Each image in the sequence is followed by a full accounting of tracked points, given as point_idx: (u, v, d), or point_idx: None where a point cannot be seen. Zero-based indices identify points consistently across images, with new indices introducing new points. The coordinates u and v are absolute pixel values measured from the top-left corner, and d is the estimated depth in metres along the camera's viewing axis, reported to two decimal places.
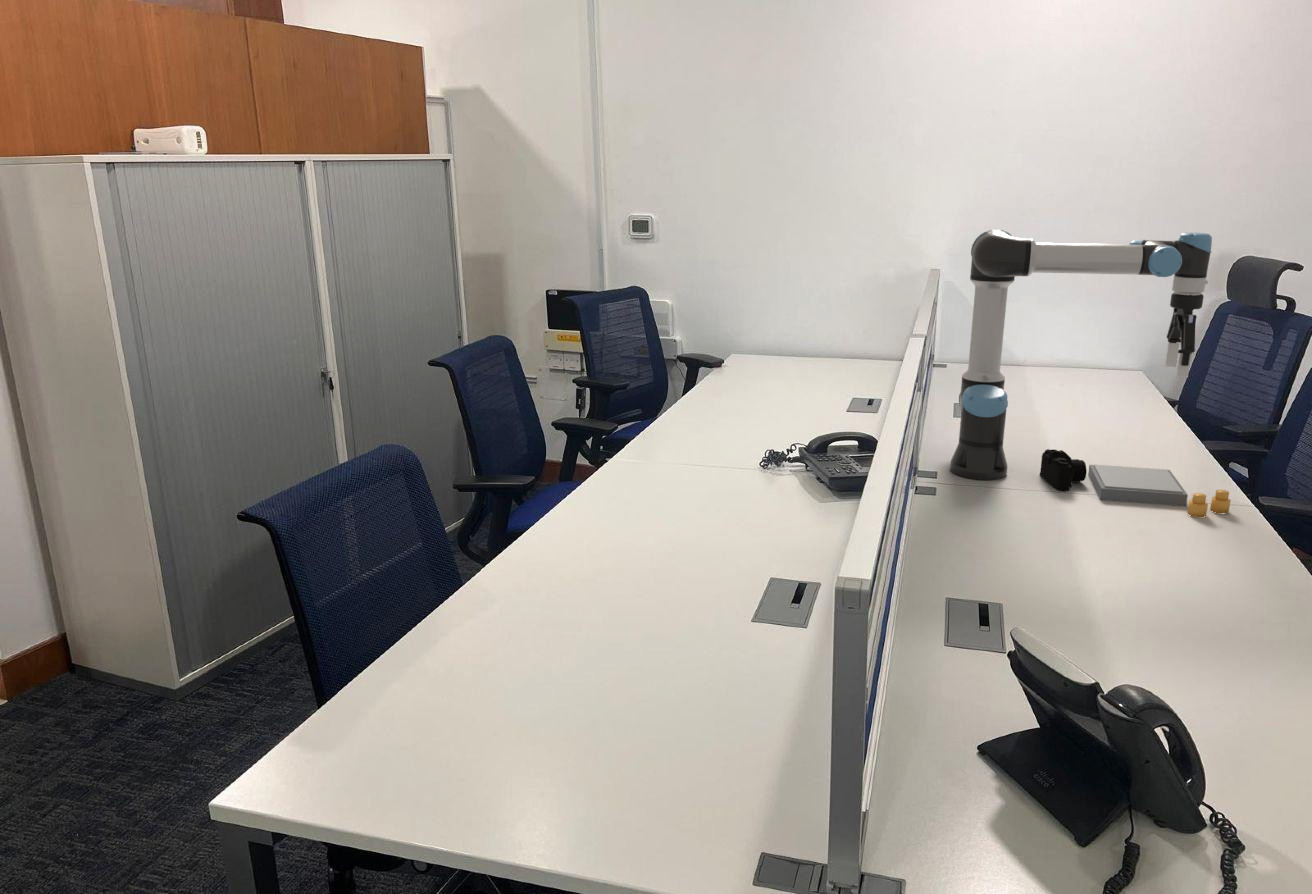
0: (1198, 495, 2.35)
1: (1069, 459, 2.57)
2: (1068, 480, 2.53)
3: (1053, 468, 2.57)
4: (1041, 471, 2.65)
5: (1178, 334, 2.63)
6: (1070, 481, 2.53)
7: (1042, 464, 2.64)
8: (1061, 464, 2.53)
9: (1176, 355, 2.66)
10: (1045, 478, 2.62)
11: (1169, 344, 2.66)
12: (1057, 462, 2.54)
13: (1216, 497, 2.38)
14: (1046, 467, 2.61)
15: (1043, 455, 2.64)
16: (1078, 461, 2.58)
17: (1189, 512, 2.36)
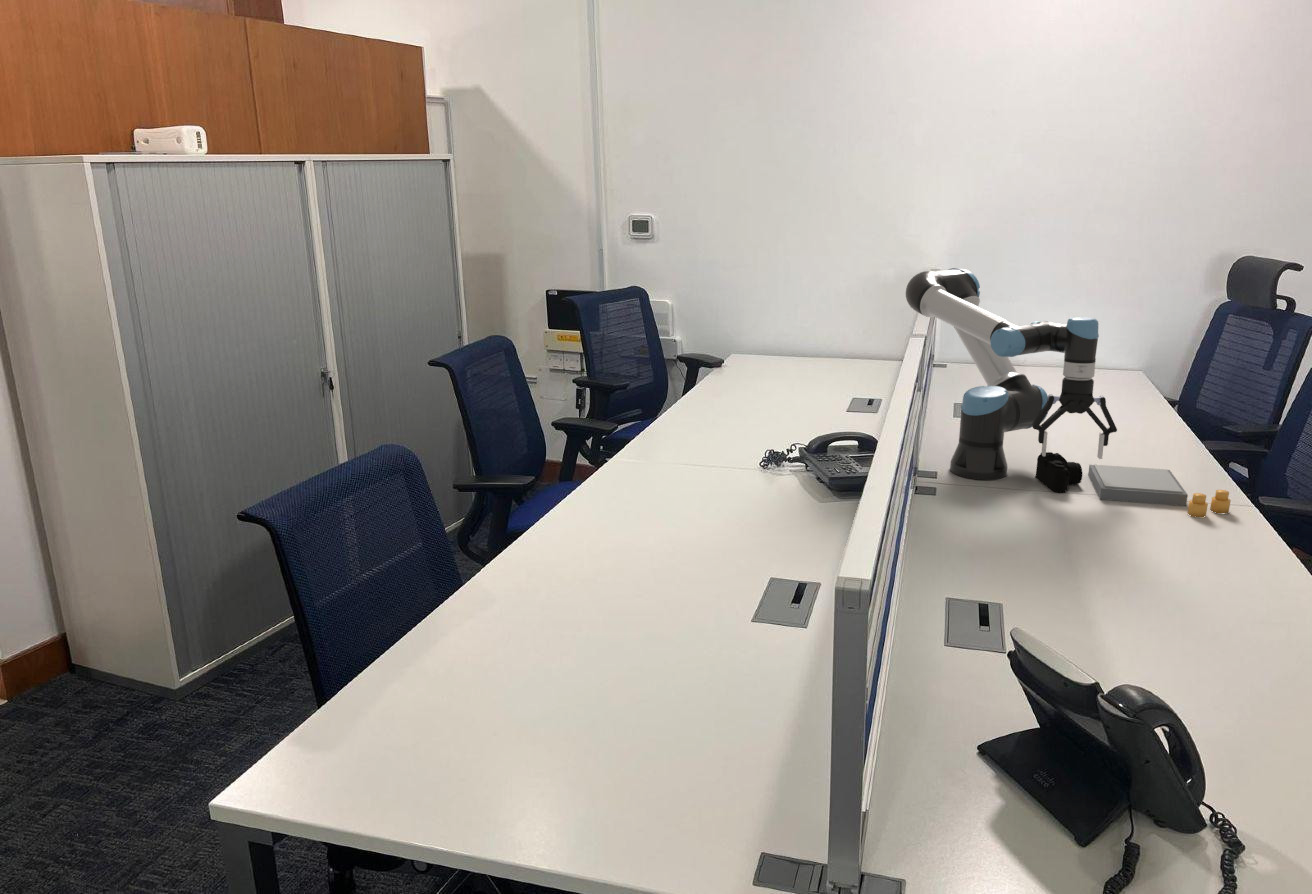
0: (1198, 495, 2.35)
1: (1065, 462, 2.56)
2: (1064, 483, 2.52)
3: (1049, 471, 2.55)
4: (1037, 474, 2.64)
5: (1096, 423, 2.53)
6: (1066, 484, 2.52)
7: (1038, 467, 2.63)
8: (1057, 467, 2.52)
9: (1099, 446, 2.53)
10: (1041, 481, 2.61)
11: None
12: (1053, 465, 2.53)
13: (1216, 497, 2.38)
14: (1042, 470, 2.60)
15: (1039, 458, 2.62)
16: (1074, 463, 2.57)
17: (1189, 512, 2.36)
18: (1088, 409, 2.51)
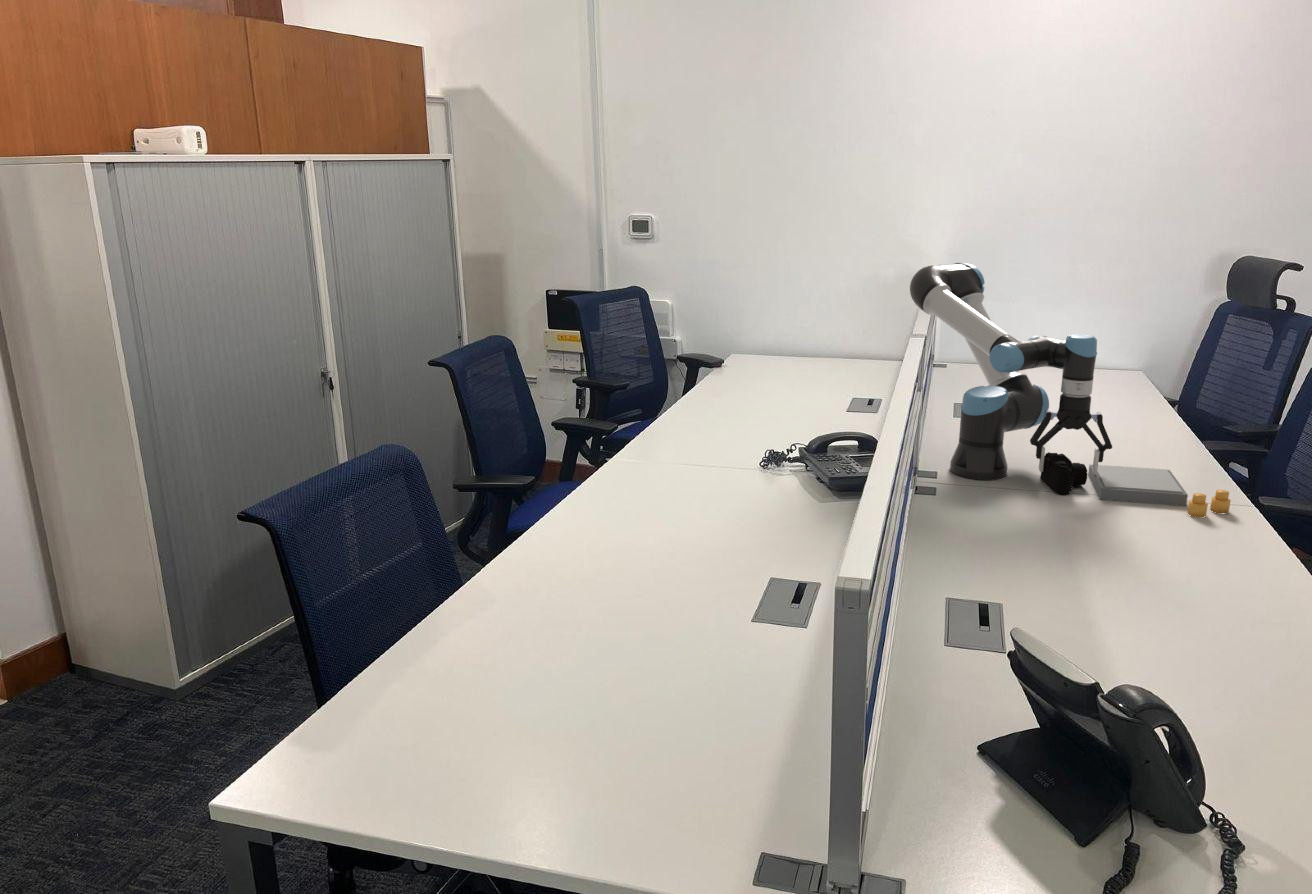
0: (1197, 495, 2.35)
1: (1069, 463, 2.54)
2: (1068, 484, 2.50)
3: (1053, 471, 2.54)
4: (1041, 474, 2.62)
5: None
6: (1070, 485, 2.50)
7: None
8: (1061, 468, 2.50)
9: (1094, 462, 2.56)
10: (1045, 482, 2.59)
11: (1095, 449, 2.57)
12: (1057, 466, 2.51)
13: (1216, 497, 2.38)
14: (1047, 471, 2.58)
15: (1044, 458, 2.61)
16: (1079, 464, 2.56)
17: (1189, 512, 2.36)
18: (1085, 426, 2.53)
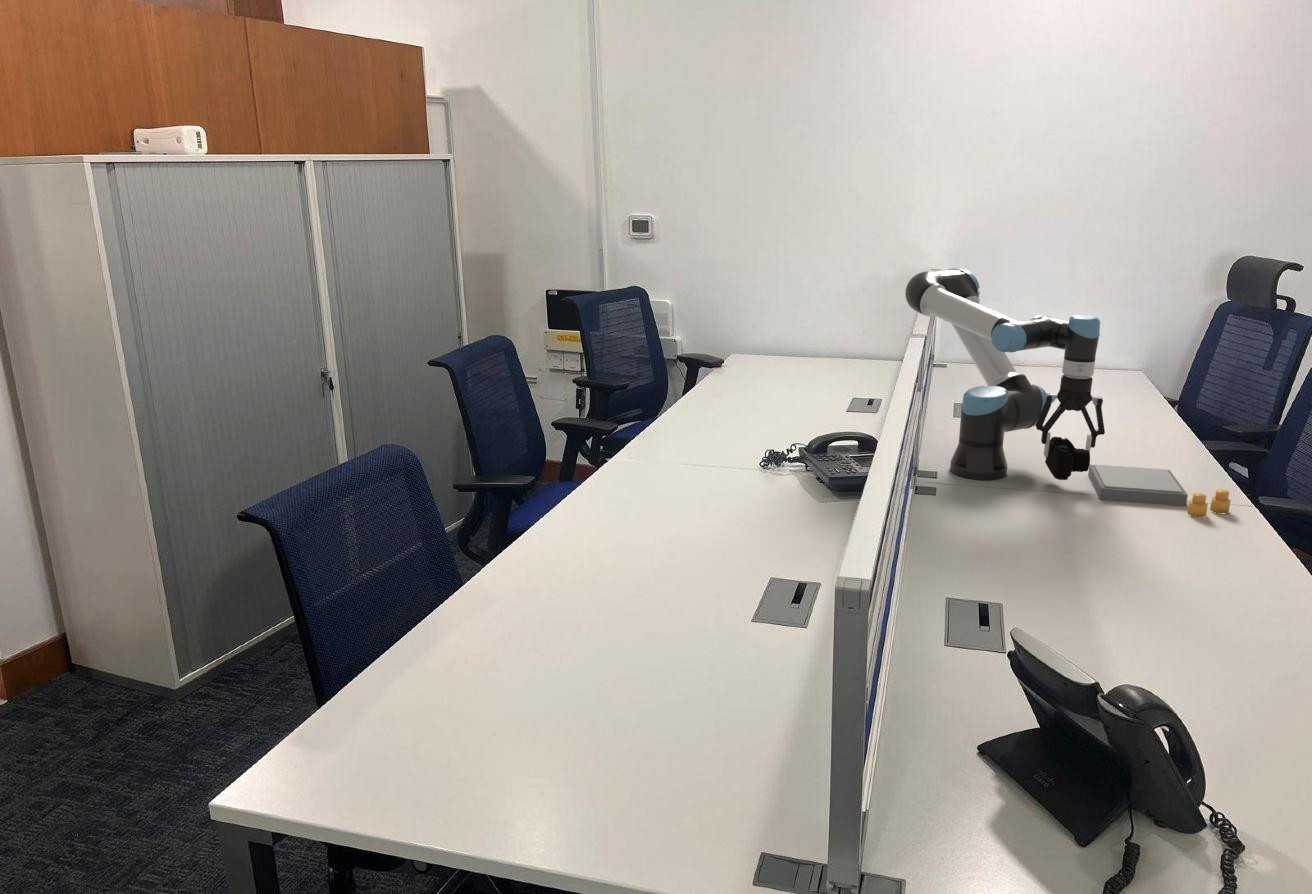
0: (1197, 495, 2.35)
1: (1072, 448, 2.53)
2: (1066, 468, 2.49)
3: (1054, 455, 2.53)
4: (1046, 458, 2.61)
5: (1087, 423, 2.55)
6: (1069, 470, 2.49)
7: None
8: (1061, 452, 2.49)
9: (1087, 448, 2.56)
10: (1048, 465, 2.58)
11: (1087, 435, 2.57)
12: (1057, 449, 2.50)
13: (1216, 497, 2.38)
14: (1050, 454, 2.57)
15: None
16: (1083, 450, 2.54)
17: (1189, 512, 2.36)
18: (1084, 408, 2.52)
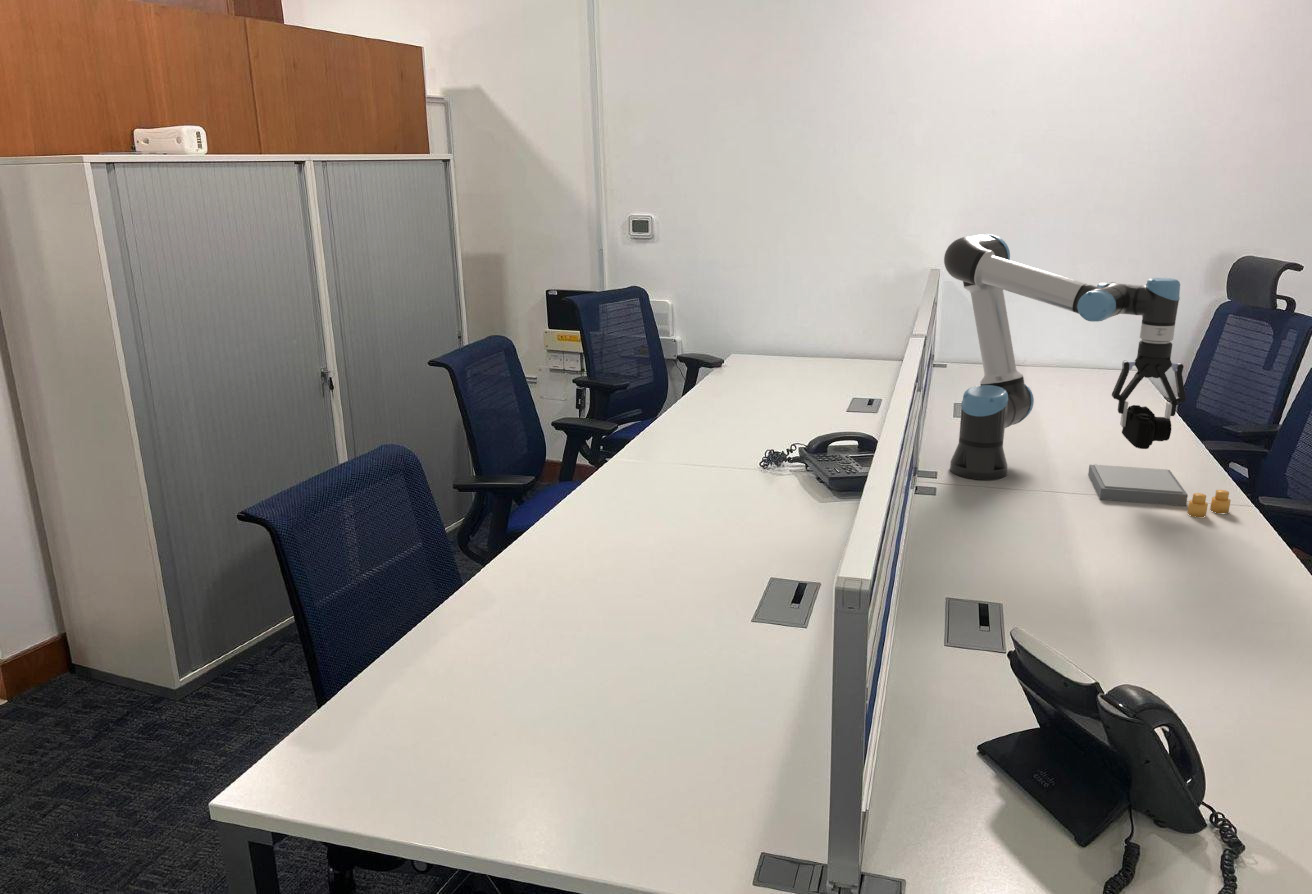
0: (1197, 495, 2.35)
1: (1152, 416, 2.43)
2: (1148, 437, 2.39)
3: (1133, 423, 2.43)
4: (1123, 428, 2.51)
5: (1166, 391, 2.45)
6: (1150, 438, 2.39)
7: None
8: (1141, 419, 2.40)
9: (1166, 416, 2.46)
10: (1126, 435, 2.48)
11: (1166, 403, 2.47)
12: (1137, 417, 2.40)
13: (1216, 497, 2.38)
14: (1128, 424, 2.47)
15: None
16: (1163, 418, 2.44)
17: (1189, 512, 2.36)
18: (1163, 375, 2.43)
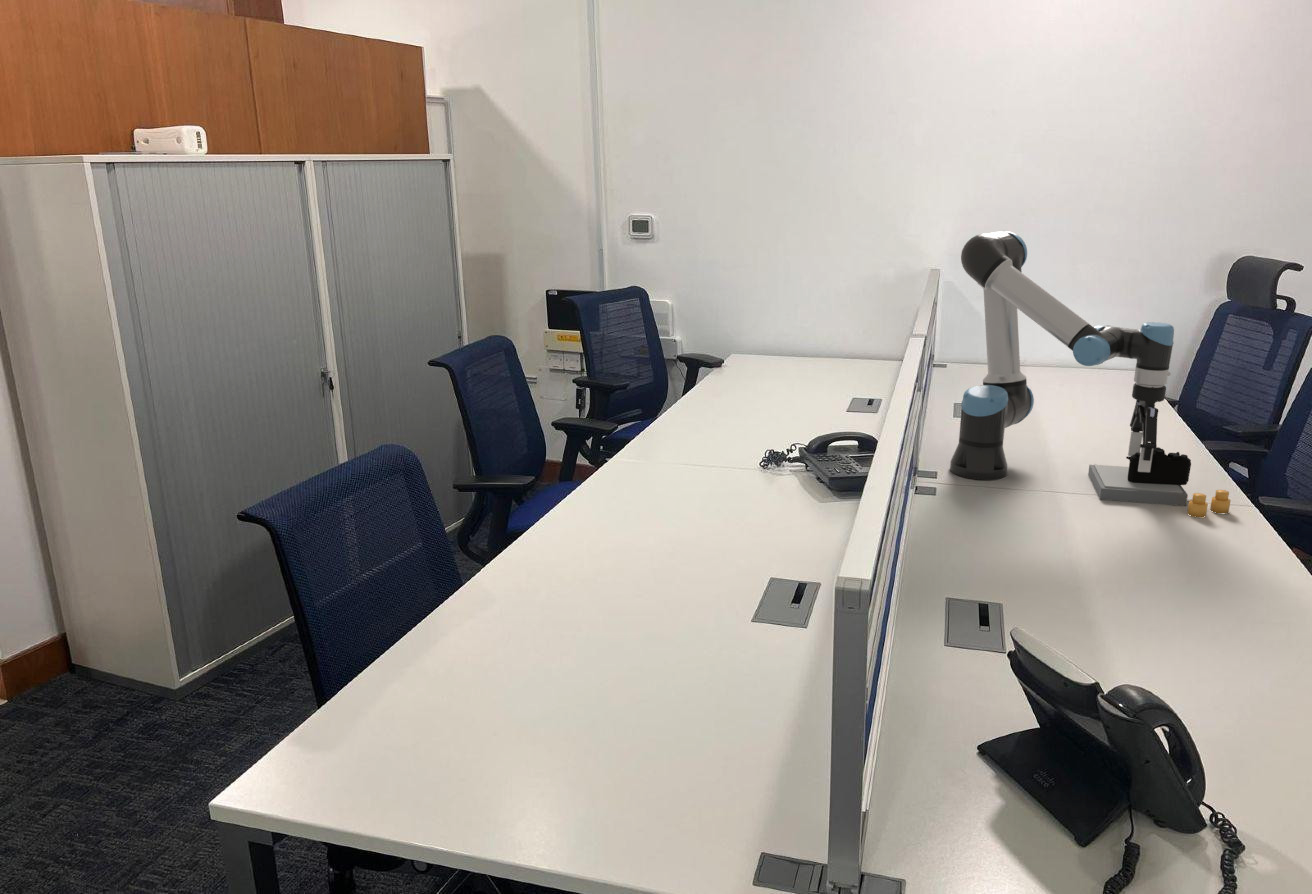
0: (1197, 495, 2.35)
1: None
2: None
3: (1172, 465, 2.46)
4: (1138, 477, 2.49)
5: (1141, 424, 2.54)
6: None
7: None
8: (1185, 458, 2.46)
9: (1139, 445, 2.57)
10: (1152, 481, 2.48)
11: (1132, 433, 2.57)
12: (1183, 457, 2.45)
13: (1216, 497, 2.38)
14: (1154, 469, 2.47)
15: None
16: None
17: (1189, 512, 2.36)
18: None
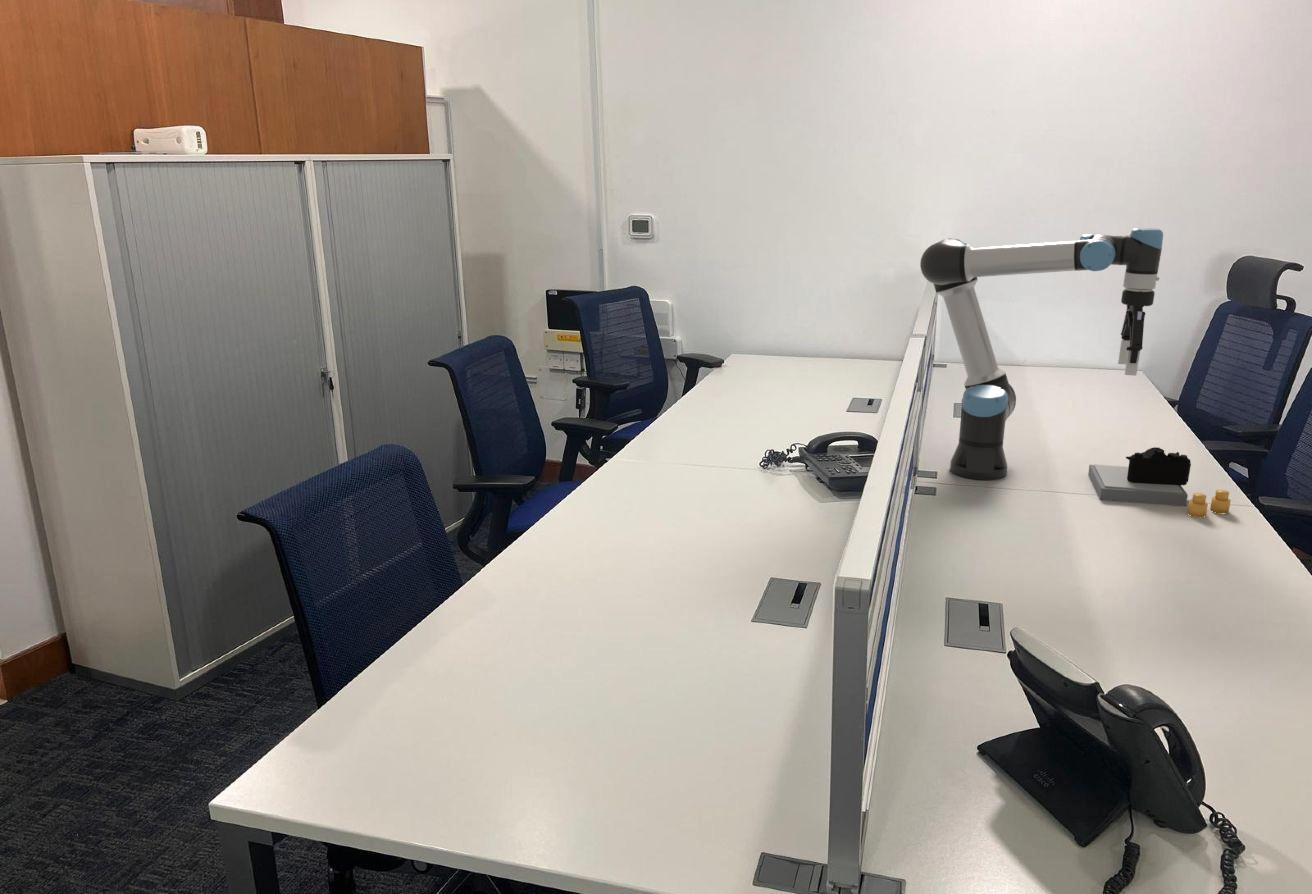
0: (1197, 495, 2.35)
1: None
2: None
3: (1172, 465, 2.46)
4: (1138, 477, 2.49)
5: None
6: None
7: (1140, 469, 2.48)
8: (1185, 458, 2.46)
9: None
10: (1152, 481, 2.48)
11: (1122, 341, 2.62)
12: (1182, 457, 2.45)
13: (1216, 497, 2.38)
14: (1153, 469, 2.47)
15: (1140, 460, 2.47)
16: None
17: (1189, 512, 2.36)
18: None
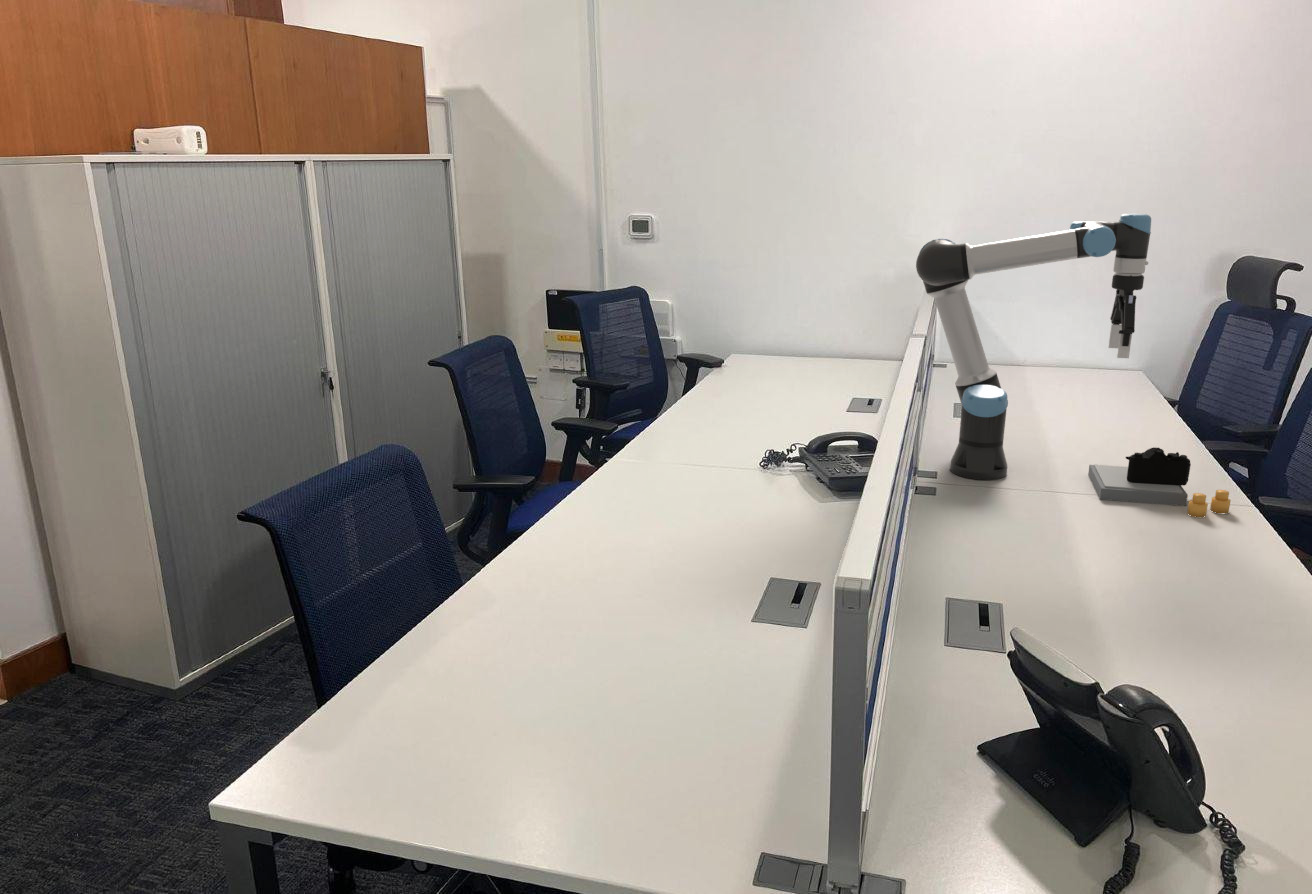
0: (1197, 495, 2.35)
1: None
2: None
3: (1171, 466, 2.46)
4: (1137, 477, 2.49)
5: (1121, 315, 2.65)
6: None
7: (1139, 469, 2.48)
8: (1185, 458, 2.46)
9: (1119, 336, 2.67)
10: (1151, 481, 2.48)
11: (1112, 326, 2.67)
12: (1182, 458, 2.45)
13: (1216, 497, 2.38)
14: (1153, 469, 2.47)
15: (1139, 460, 2.47)
16: None
17: (1189, 512, 2.36)
18: None
